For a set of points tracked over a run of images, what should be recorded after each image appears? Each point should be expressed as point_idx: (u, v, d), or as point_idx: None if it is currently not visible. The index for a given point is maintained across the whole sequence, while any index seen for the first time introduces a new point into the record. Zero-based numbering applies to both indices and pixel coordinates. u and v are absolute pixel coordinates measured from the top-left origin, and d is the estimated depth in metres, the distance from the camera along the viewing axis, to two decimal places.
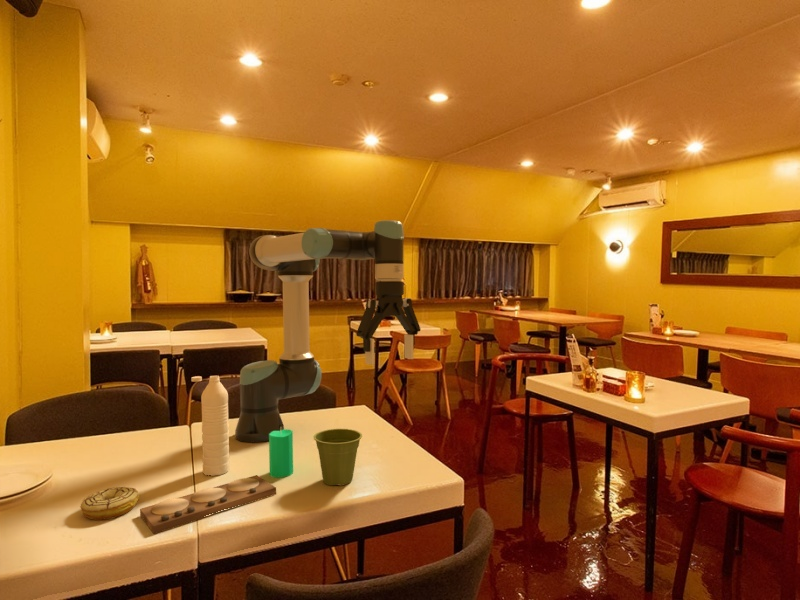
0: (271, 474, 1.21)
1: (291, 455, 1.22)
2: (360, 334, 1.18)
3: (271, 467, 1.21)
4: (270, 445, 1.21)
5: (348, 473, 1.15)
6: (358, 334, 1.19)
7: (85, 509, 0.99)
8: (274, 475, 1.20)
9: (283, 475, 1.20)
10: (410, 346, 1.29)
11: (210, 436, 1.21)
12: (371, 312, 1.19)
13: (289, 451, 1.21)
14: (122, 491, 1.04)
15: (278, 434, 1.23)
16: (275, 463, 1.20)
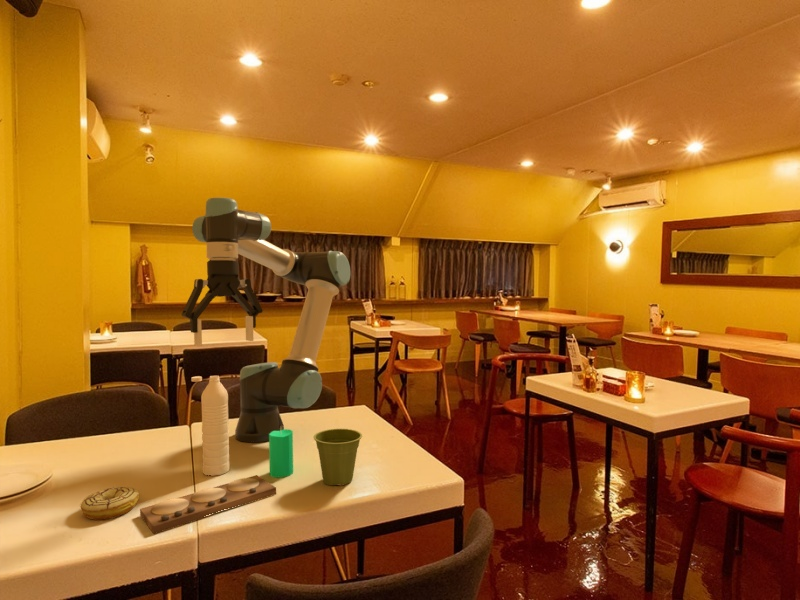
0: (271, 474, 1.21)
1: (291, 455, 1.22)
2: (184, 314, 1.14)
3: (271, 467, 1.21)
4: (270, 445, 1.21)
5: (348, 473, 1.15)
6: (183, 314, 1.15)
7: (85, 509, 0.99)
8: (274, 475, 1.20)
9: (283, 475, 1.20)
10: (249, 328, 1.26)
11: (210, 436, 1.21)
12: (197, 292, 1.16)
13: (289, 451, 1.21)
14: (122, 491, 1.04)
15: (278, 434, 1.23)
16: (275, 463, 1.20)
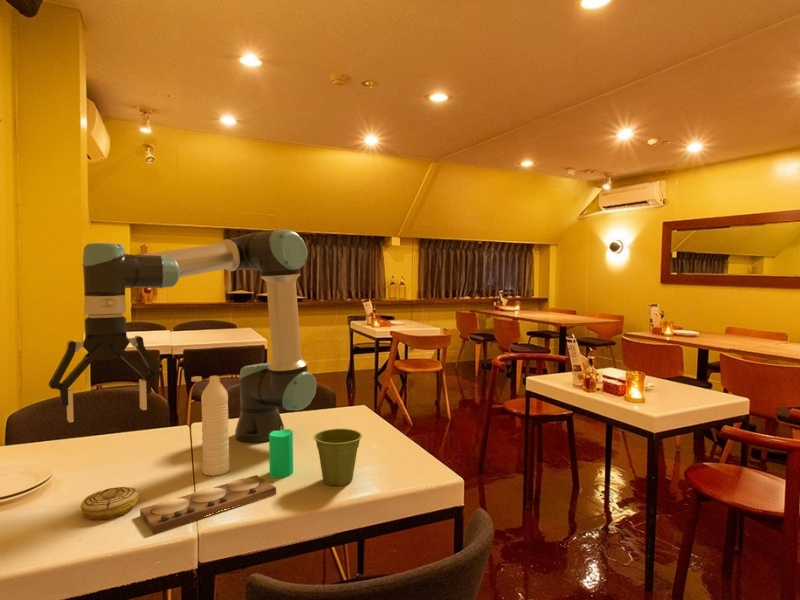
0: (271, 474, 1.21)
1: (291, 455, 1.22)
2: (49, 385, 0.95)
3: (271, 467, 1.21)
4: (270, 445, 1.21)
5: (348, 473, 1.15)
6: (49, 385, 0.96)
7: (85, 509, 0.99)
8: (274, 475, 1.20)
9: (283, 475, 1.20)
10: (142, 394, 1.06)
11: (210, 436, 1.21)
12: (67, 357, 0.97)
13: (289, 451, 1.21)
14: (123, 491, 1.04)
15: (278, 434, 1.23)
16: (275, 463, 1.20)
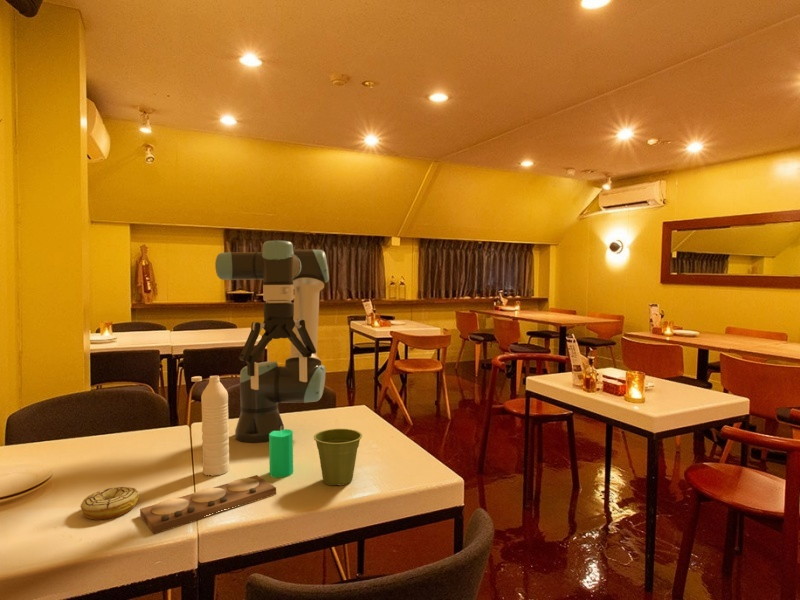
0: (271, 474, 1.21)
1: (291, 455, 1.22)
2: (242, 358, 1.15)
3: (271, 467, 1.21)
4: (270, 445, 1.21)
5: (348, 473, 1.15)
6: (240, 358, 1.15)
7: (85, 509, 0.99)
8: (274, 475, 1.20)
9: (283, 475, 1.20)
10: (303, 369, 1.25)
11: (210, 436, 1.21)
12: (255, 335, 1.16)
13: (289, 451, 1.21)
14: (122, 491, 1.04)
15: (278, 434, 1.23)
16: (275, 463, 1.20)
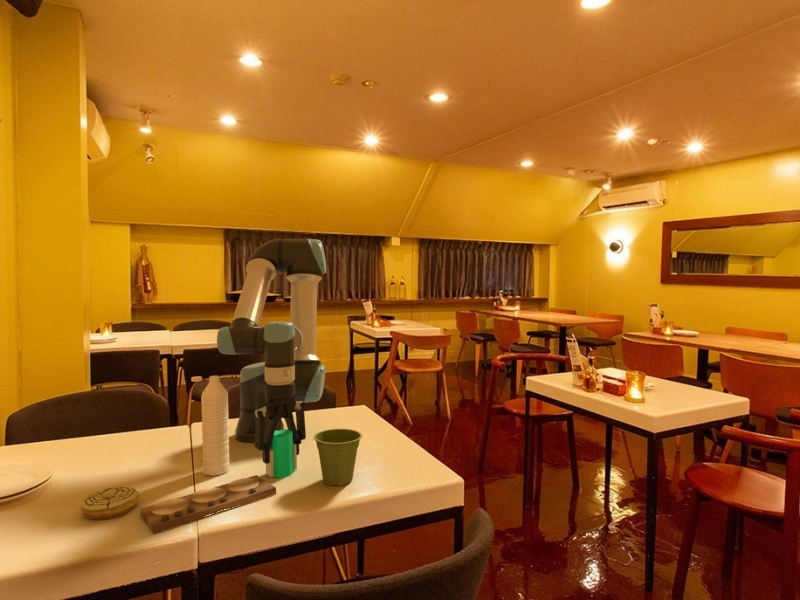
0: None
1: (291, 455, 1.22)
2: (258, 448, 1.18)
3: None
4: None
5: (348, 473, 1.15)
6: (256, 447, 1.18)
7: (85, 509, 0.99)
8: (274, 475, 1.20)
9: (283, 475, 1.20)
10: (293, 456, 1.24)
11: (210, 436, 1.21)
12: (261, 424, 1.18)
13: (289, 451, 1.21)
14: (123, 491, 1.04)
15: (278, 434, 1.23)
16: (275, 463, 1.20)
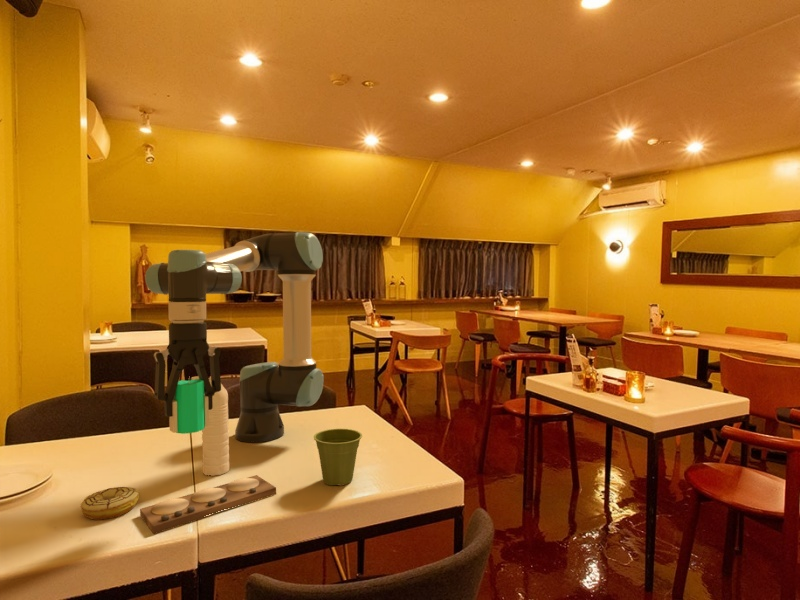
0: None
1: (200, 408, 1.03)
2: (157, 398, 0.99)
3: None
4: (174, 395, 1.02)
5: (348, 473, 1.15)
6: (155, 396, 0.99)
7: (85, 509, 0.99)
8: (178, 431, 1.01)
9: (189, 431, 1.01)
10: (204, 410, 1.05)
11: (210, 436, 1.21)
12: (161, 368, 0.99)
13: (197, 403, 1.02)
14: (122, 491, 1.04)
15: (186, 383, 1.04)
16: (179, 416, 1.01)
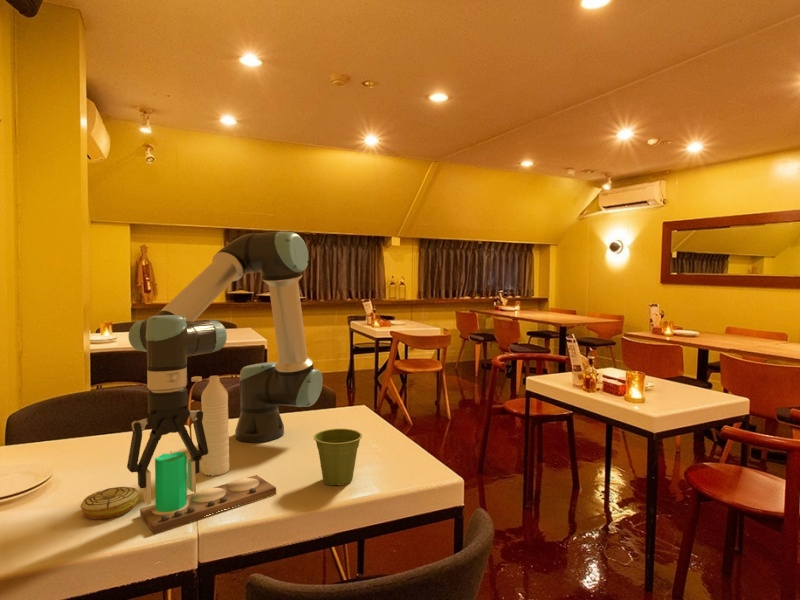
0: (156, 507, 0.99)
1: (182, 484, 1.00)
2: (129, 469, 0.95)
3: (156, 499, 0.99)
4: (156, 472, 0.99)
5: (348, 473, 1.15)
6: (128, 468, 0.96)
7: (85, 509, 0.99)
8: (159, 509, 0.98)
9: (170, 509, 0.98)
10: (191, 475, 1.03)
11: (210, 436, 1.21)
12: (137, 439, 0.95)
13: (179, 480, 0.99)
14: (122, 491, 1.04)
15: (167, 458, 1.01)
16: (160, 494, 0.98)
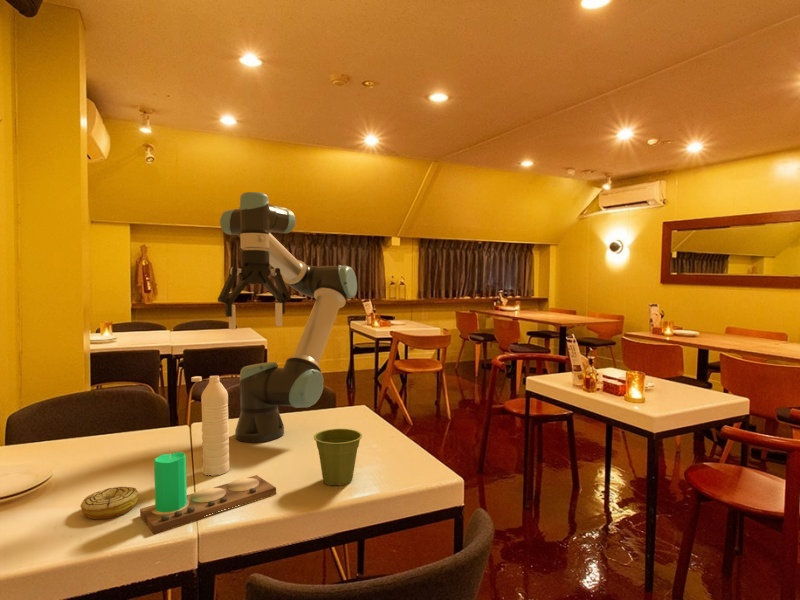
0: (156, 508, 0.99)
1: (182, 484, 1.00)
2: (220, 299, 1.24)
3: (156, 499, 0.99)
4: (155, 472, 0.99)
5: (348, 473, 1.15)
6: (219, 300, 1.25)
7: (85, 509, 0.99)
8: (159, 509, 0.98)
9: (170, 509, 0.98)
10: (279, 314, 1.35)
11: (210, 436, 1.21)
12: (232, 279, 1.25)
13: (178, 480, 0.99)
14: (122, 491, 1.04)
15: (167, 458, 1.01)
16: (160, 494, 0.98)
